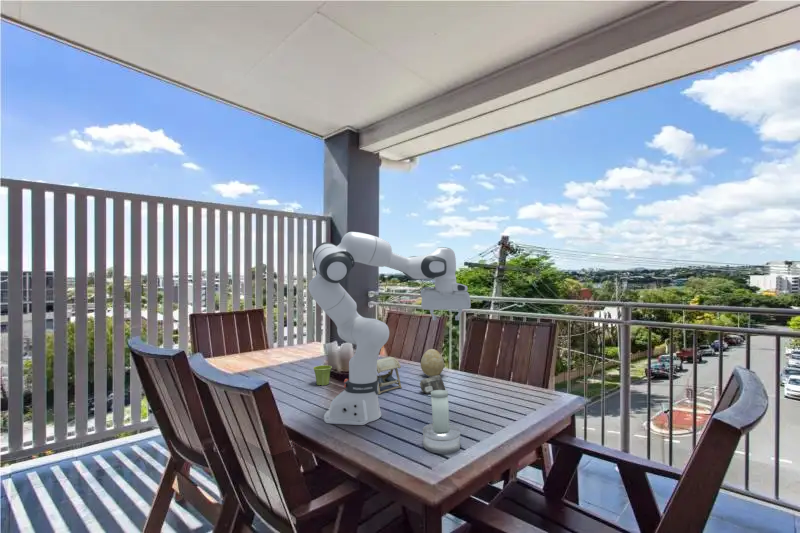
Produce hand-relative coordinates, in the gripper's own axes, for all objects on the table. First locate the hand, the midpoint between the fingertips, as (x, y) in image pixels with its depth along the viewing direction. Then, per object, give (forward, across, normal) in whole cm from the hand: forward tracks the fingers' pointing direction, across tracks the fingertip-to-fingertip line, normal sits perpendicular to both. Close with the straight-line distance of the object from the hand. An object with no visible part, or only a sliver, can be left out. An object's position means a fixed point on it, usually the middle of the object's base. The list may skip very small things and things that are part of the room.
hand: (446, 320), depth 154 cm
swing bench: (+37, -26, +30) cm, 55 cm away
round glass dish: (+37, -6, -30) cm, 49 cm away
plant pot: (+37, -58, +41) cm, 80 cm away
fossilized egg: (+37, 0, +52) cm, 63 cm away
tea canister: (+32, -6, -30) cm, 45 cm away
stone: (+37, -3, +25) cm, 45 cm away
